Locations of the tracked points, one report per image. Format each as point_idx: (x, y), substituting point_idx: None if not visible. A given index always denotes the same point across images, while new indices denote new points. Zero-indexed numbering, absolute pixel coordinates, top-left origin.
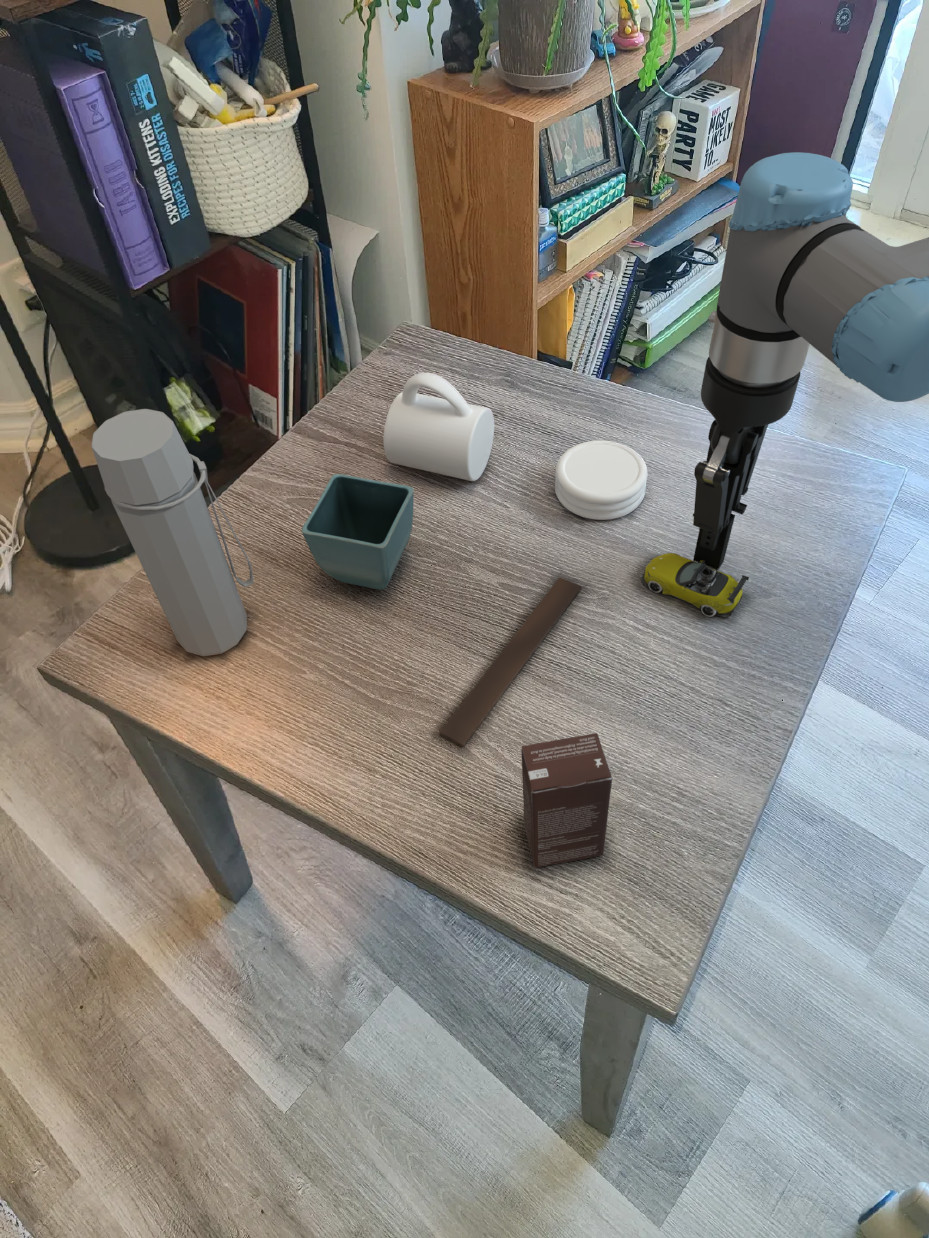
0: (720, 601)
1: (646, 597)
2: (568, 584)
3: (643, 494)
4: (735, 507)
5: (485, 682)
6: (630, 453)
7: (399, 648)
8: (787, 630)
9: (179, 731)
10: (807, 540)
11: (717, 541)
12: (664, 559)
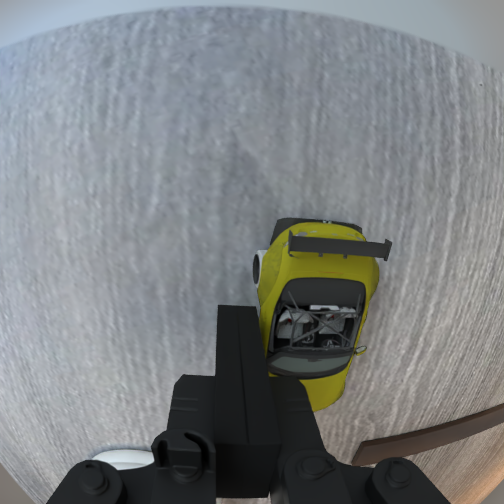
0: (371, 267)
1: (351, 376)
2: (364, 456)
3: (126, 457)
4: (212, 481)
5: (498, 421)
6: None
7: (455, 475)
8: (334, 89)
9: (500, 480)
10: (30, 146)
11: (278, 392)
12: None
